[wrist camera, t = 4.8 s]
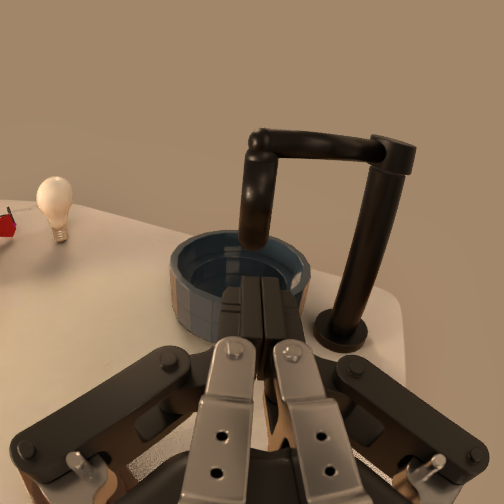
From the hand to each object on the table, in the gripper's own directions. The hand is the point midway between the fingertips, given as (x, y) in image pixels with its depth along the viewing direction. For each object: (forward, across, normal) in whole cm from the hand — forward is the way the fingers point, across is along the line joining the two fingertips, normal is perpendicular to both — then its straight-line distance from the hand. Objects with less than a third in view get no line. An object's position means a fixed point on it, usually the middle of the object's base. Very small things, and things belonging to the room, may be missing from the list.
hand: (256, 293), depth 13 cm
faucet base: (+13, -11, +15) cm, 22 cm away
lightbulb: (+28, +30, +15) cm, 44 cm away
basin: (+17, 0, +15) cm, 22 cm away
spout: (+10, -6, +2) cm, 12 cm away
